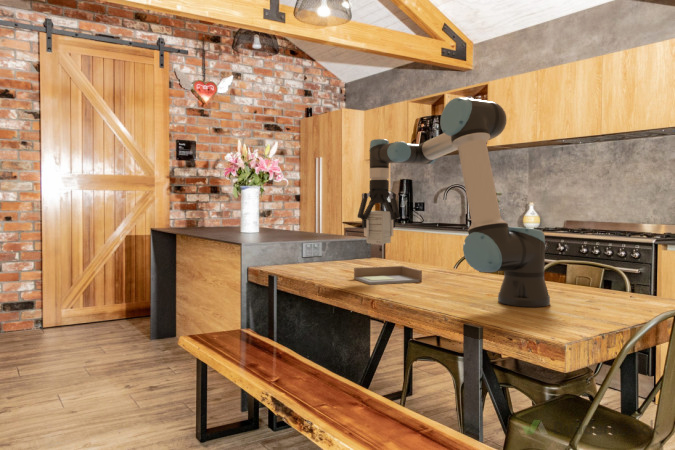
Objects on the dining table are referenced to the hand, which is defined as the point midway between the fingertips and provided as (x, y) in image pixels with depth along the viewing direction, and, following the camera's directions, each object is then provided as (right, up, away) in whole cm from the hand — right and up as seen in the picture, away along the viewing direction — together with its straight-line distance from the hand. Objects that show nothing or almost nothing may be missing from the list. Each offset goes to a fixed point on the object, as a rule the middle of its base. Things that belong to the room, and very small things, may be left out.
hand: (378, 236), depth 209 cm
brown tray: (+4, -18, +2) cm, 18 cm away
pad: (0, -18, +1) cm, 18 cm away
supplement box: (0, -3, 0) cm, 3 cm away
